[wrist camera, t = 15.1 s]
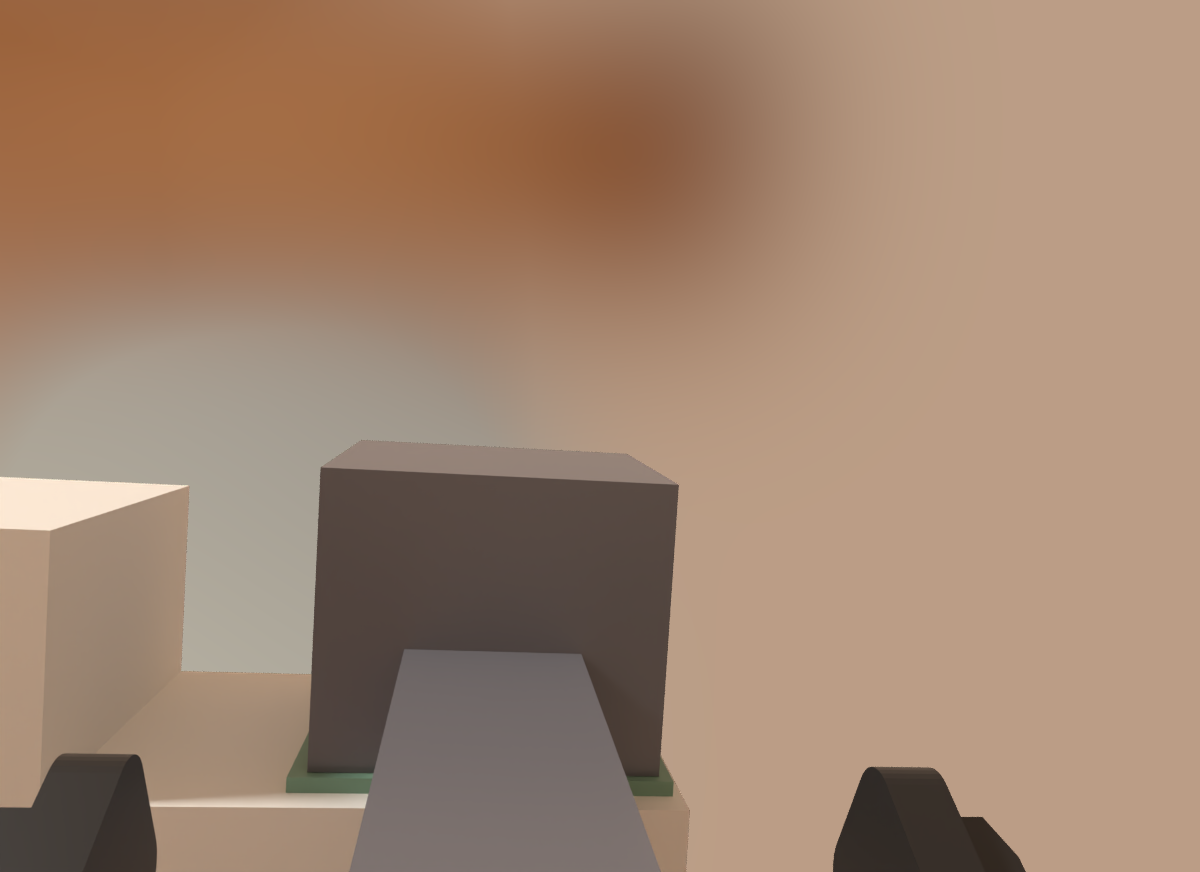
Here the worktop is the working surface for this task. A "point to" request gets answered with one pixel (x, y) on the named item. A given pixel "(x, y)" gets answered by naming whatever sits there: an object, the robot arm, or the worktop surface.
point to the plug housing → (492, 653)
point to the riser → (175, 692)
